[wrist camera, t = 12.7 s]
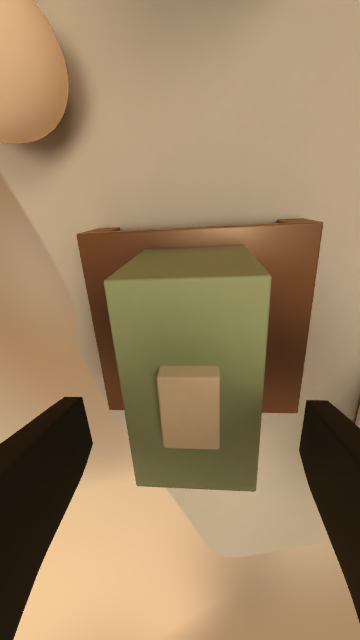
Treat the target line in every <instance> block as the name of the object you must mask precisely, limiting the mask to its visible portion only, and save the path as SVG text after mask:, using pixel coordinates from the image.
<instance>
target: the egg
mask: <svg viewBox="0 0 360 640" xmlns="http://www.w3.org/2000/svg"><path fill="white" fill-rule="evenodd" d="M67 100H68V74H67V69H66V64H65V60H64V55H63V53H62V50H61V48H60V46H59V44H58V41H57V39H56V37H55V34H54V32H53V30H52V28H51V26H50V24H49V22H48V21H47V19H46V17H45V16H44V14H43V13H42V12H41V10H40V9H39V7H38V6H37V5H36V3H35V2H34V1H33V0H0V142H7V143H27V142H32V141H36V140H38V139H41V138H43V137H45V136H46V135H48V134H49V133H50V132H51V131H53V130H54V129H55V128H56V126H57V125H58V124H59V122H60V120H61V119H62V117H63V115H64V112H65V109H66V104H67Z"/></svg>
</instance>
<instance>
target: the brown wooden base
mask: <svg viewBox="0 0 360 640" xmlns="http://www.w3.org/2000/svg"><path fill="white" fill-rule="evenodd" d="M322 228H323V222H319V221H314V220H308V219H303V218H301V219H281V220H278V221H277V223H272V224H251V225H231V226H210V227H190V228H169V229H149V230H128V231H120V228H101V229H95V230H91V231H87V232H83V233H79V234H77V240H78V245H79V251H80V256H81V261H82V267H83V272H84V277H85V283H86V288H87V293H88V298H89V304H90V309H91V314H92V320H93V325H94V330H95V336H96V341H97V346H98V352H99V357H100V362H101V368H102V373H103V378H104V384H105V389H106V394H107V400H108V405H109V409H110V410H124V405H123V399H122V392H121V386H120V380H119V374H118V368H117V362H116V355H115V349H114V343H113V337H112V331H111V325H110V319H109V312H108V306H107V300H106V294H105V288H104V280H105V279H107V278H108V277H109V276H111V275H112V274H113V273H115V272H116V271H117V270H118V269H120V268H121V267H122V266H124V265H125V264H126V263H128V262H129V261H130V260H132V259H133V258H134V257H135V256H137V255H138V254H139V253H141V252H142V251H143V250H145V249H169V248H193V247H217V246H241V245H244V246H246V247H247V248H248V250H249V251H250V252H251V253H252V254H253V255H254V256H255V258H256V259H257V260H258V261H259V262H260V263H261V265H262V266H263V267H264V268H265V269H266V270H267V272H268V273H269V274H270V275H271V277H272V280H271V293H270V307H269V320H268V334H267V347H266V361H265V375H264V388H263V402H262V413H297V412H298V405H299V398H300V390H301V383H302V375H303V368H304V361H305V353H306V346H307V338H308V331H309V324H310V316H311V309H312V302H313V294H314V287H315V279H316V272H317V265H318V257H319V250H320V242H321V235H322Z"/></svg>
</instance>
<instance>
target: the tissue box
mask: <svg viewBox="0 0 360 640" xmlns="http://www.w3.org/2000/svg"><path fill="white" fill-rule="evenodd" d="M271 280H272V277H271V275H270V274H269V273H268V272H267V270H266V269H265V268H264V267H263V266H262V265H261V263H260V262H259V261H258V260H257V259H256V258H255V256H254V255H253V254H252V253H251V252H250V251H249V250H248V248H247V247H246V246H244V245H241V246H217V247H193V248H169V249H145V250H143V251H142V252H141V253H139V254H138V255H137V256H135V257H134V258H133V259H132V260H130V261H129V262H128V263H126V264H125V265H124V266H122V267H121V268H120V269H118V270H117V271H116V272H115V273H113V274H112V275H111V276H109V277H108V278H107V279H105V280H104V288H105V294H106V300H107V306H108V312H109V319H110V325H111V331H112V337H113V343H114V349H115V355H116V362H117V368H118V374H119V380H120V386H121V392H122V399H123V405H124V411H125V417H126V423H127V429H128V435H129V442H130V447H131V453H132V460H133V466H134V472H135V478H136V484H137V486H146V487H168V488H189V489H210V490H232V491H253V492H254V491H256V483H257V470H258V456H259V443H260V429H261V415H262V402H263V388H264V375H265V361H266V347H267V334H268V320H269V307H270V293H271Z"/></svg>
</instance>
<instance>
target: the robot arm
mask: <svg viewBox="0 0 360 640" xmlns="http://www.w3.org/2000/svg"><path fill="white" fill-rule="evenodd" d="M92 445H93V443H92V438H91V434H90V429H89V425H88V421H87V416H86V412H85V407H84V403H83V399H82V397H64V398H63V399H61V400H60V401H58V402H57V403H56V404H54V405H53V406H51V407H50V408H48V409H47V410H46V411H44V412H43V413H42V414H40V415H39V416H37V417H36V418H35V419H33V420H32V421H31V422H29V423H28V424H27V425H26V426H24V427H23V428H21V429H20V430H19V431H17V432H16V433H14V434H13V435H12V436H10V437H9V438H8V439H6V440H5V441H4V442H2V443H1V444H0V640H13V639H14V636H15V633H16V630H17V627H18V625H19V622H20V619H21V616H22V613H23V611H24V608H25V605H26V603H27V600H28V597H29V595H30V592H31V589H32V587H33V584H34V581H35V579H36V576H37V574H38V571H39V568H40V566H41V564H42V562H43V559H44V557H45V555H46V552H47V550H48V548H49V546H50V544H51V541H52V539H53V537H54V535H55V533H56V531H57V529H58V527H59V525H60V522H61V520H62V518H63V516H64V514H65V512H66V510H67V508H68V505H69V503H70V501H71V499H72V497H73V494H74V492H75V490H76V488H77V486H78V484H79V481H80V479H81V477H82V475H83V472H84V469H85V466H86V463H87V460H88V457H89V454H90V451H91V448H92ZM299 451H300V455H301V459H302V463H303V467H304V470H305V474H306V478H307V481H308V485H309V487H310V490H311V492H312V495H313V498H314V500H315V503H316V505H317V508H318V511H319V513H320V516H321V518H322V521H323V523H324V526H325V528H326V531H327V533H328V536H329V539H330V541H331V544H332V546H333V549H334V551H335V554H336V556H337V559H338V561H339V564H340V566H341V569H342V571H343V574H344V577H345V579H346V582H347V585H348V588H349V591H350V594H351V596H352V599H353V603H354V606H355V609H356V612H357V615H358V619H359V622H360V405H359V410H358V414H357V418H356V422H355V424H354V423H353V422H352V421H351V420H350V419H349V418H347V417H346V416H345V415H344V414H343V413H342V412H340V411H339V410H338V409H337V408H336V407H335V406H333V405H332V404H331V403H330V402H329V401H321V400H307V401H306V408H305V414H304V421H303V428H302V435H301V441H300V448H299Z"/></svg>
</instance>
